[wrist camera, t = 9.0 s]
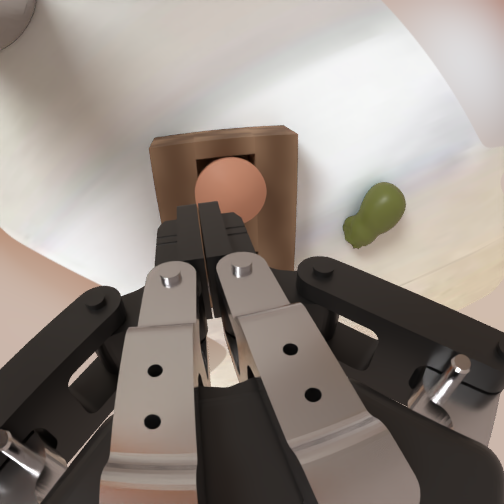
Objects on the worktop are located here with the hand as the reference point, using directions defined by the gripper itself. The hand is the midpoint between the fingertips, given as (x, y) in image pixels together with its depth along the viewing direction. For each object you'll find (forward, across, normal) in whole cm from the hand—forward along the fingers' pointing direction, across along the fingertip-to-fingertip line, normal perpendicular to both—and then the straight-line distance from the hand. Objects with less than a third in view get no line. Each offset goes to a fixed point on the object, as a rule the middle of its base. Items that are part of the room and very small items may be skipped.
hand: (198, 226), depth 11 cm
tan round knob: (+21, -3, +6) cm, 22 cm away
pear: (+23, -22, +13) cm, 34 cm away
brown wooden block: (+23, -4, +11) cm, 26 cm away
